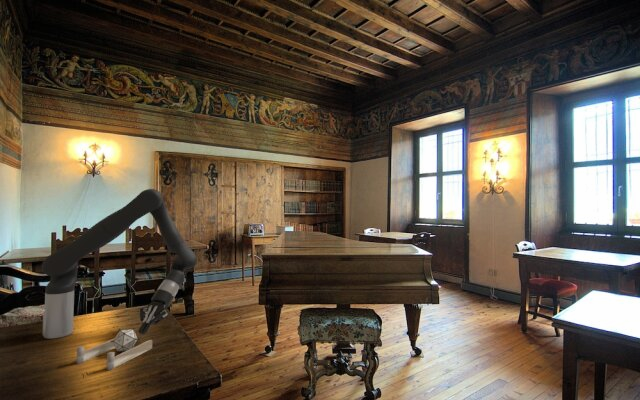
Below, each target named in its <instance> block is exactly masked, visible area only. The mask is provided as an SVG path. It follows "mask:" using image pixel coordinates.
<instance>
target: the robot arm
mask: <svg viewBox="0 0 640 400" xmlns="http://www.w3.org/2000/svg"><path fill="white" fill-rule="evenodd" d="M147 214H150V215H151V216H152V217H153V219H154V220H155V222H156V225H157V227H158V230H159V233H160V235H161V237H162V240H163V242H164V244H165V245H166V247H167V248H168V250H169V252H171V253H173V254H176V255H177V256H176V257H175V258H174V260H173V261H172V263H171V267H170V269H169V272H168V274H167V275H166V276H165V278H164V279H163V281H162V282H161V283H160V285H159V286H158V288H157V289H156V291H155V292H154V294H153V296H152V297H151V299H150V300H151V301H150V303H149V304H147V307H144V308H143V307H141V308H140V309H139V321H141V322H142V324H141V325H140V327H139V328H138V331H137V333H138V334H140V335H145V334H146V333H147V332H148V330H149V329H150V327H151V326H152V325H155V326H156V325H158V324H159V323H160V322H161V321H163V320H164V319H167V318H168V316H169V313H168V312H167V309H168V308H169V307H170V305H171V303H172V302H173V300H174V299H175V297H176V295H177V294H178V291H179V289H180V288H181V286H182V284H183V282H184V280H185V278H186V277H185V274H184V273H185V271H186V270H188V269H193V268H195V266H197V263H198V257H197V255H196V254H195V252H194V251H193V250H192V249H191V248H190V246H189V245H187V244H186V243H185V240H184V238H183V237H182V235H181V234H180V231H179V230H178V228H177V226H176V225H175V223H174V221H173V220H172V218H171V215H170V214H169V211H168V209H167V206H166V204H165V201H164V197H163V195H162V193H161V192H160V191H159V190H158V189H154V188H149V189H148V188H147V189H145V190H142V191H141V192H140V193H139V194H137V195H136V196H135V197H134V198H133V199H132V200H130V202H128V203H126V205H125V206H123V207H122V208H120V209H118V210H116V211H114V212H112V213H111V214H109V215H108V216H105V217H104V218H102V219H101V220H99V221H98V222H97V223H95V224H94V225H92V226H91V227H89V228H88V229H87V230H86V231H85V232H84V233H82V234H80V235H79V236H78V237H77V238H76V239H74V240H73V241H72V242H70V243H68V244H66V245H65V246H64V247H62V248H61V249H59V250H56V251H55V252H53V253H51V254H49V255H47V257H46V258H45V259H43V262H42V263H41V264H42V265H41V270H42V272H43V273H44V274H45V275H47V276H49V277H50V280H49V281H48V282H47V285H46V286H45V290H44V291H45V294H44V295H45V296H44V311H43V312H42V336H43V338H44V339H49V340H50V339H57V338H63V337H66V336H67V337H68V336H69V335H72V334H73V333H74V331H73V330H74V329H73V328H74V308H75V307H74V306H75V286H76V283H77V280H78V279H77V278H78V270H79V269H78V268H79V266H78V265H79V262H80V261H81V259H82V258H85V257H86V256H88V255H89V254H91V253H93V252H95V251H97V250H99V249H102V248H103V247H104V246H106V245H108V244H109V243H111V242H113V241H114V240H115V239H117V238H118V237H119V236H121V235H122V234H124V232H125V231H126V230H128V229H129V228H130V227H131V225H133V224H134V223H135V222H136V221H138V220H139V219H140V218H143V217H144V216H145V215H147Z"/></svg>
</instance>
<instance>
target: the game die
mask: <svg viewBox="0 0 640 400" xmlns="http://www.w3.org/2000/svg"><path fill="white" fill-rule="evenodd" d="M135 328H136V327H135V326H134V327H133V328H132V329H131V328H129V329H121V328H118V332H117V334H116V336H115V337H114V338H115V339H114V338H113V339H114V340H113V341H110V342H113V343H114V345H115V350H116V352H115V355H116V354H117V355H118V353H119V352H125V351H127V350H129V349H132V348H134V347H135V344H137V342H138V341H139V340H140V338H139V337H138V336H137V334H136V331H135Z"/></svg>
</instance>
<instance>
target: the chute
mask: <svg viewBox="0 0 640 400" xmlns="http://www.w3.org/2000/svg"><path fill="white" fill-rule="evenodd" d="M114 339H115V337H114V338H112V339H110V340H107V341H105V342H103V343H99V344H98V345H95V346H93V347H91V348H90V347H89V348H87V349H85V345H82V346H77V347H76V359H75V360H76V363H75V364H77V365H80V364H83V363H84V362H87V361H88V360H91V359H93V358H96V357H97V356H100V355H101V354H104V353H106V352H107V354H106V371H112V370H115V368H117V367H119V366H120V365H121V366H122V365H123V364H125V363H127V362H129V361H131V360H132V359H134V358H136V357H138V356H140V355H142V354H145V353H146V352H148V351H150V350H152V349H153V340H152V339H149V340H147V341H145V342H142V343H140V344H138V345H136V346H134V347H133V348H132V349H129V350H127V351H122V352H121V353H119V354H117V355H116V352H115V351H111V350H113V349H116V347H115V345H114V343H113V342H110V341H113V340H114ZM115 355H116V356H115Z"/></svg>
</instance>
